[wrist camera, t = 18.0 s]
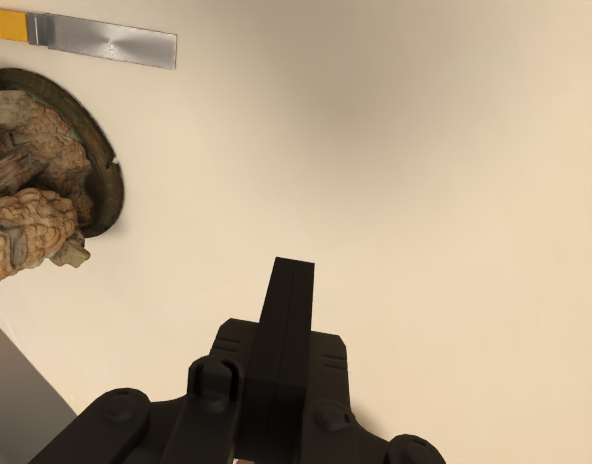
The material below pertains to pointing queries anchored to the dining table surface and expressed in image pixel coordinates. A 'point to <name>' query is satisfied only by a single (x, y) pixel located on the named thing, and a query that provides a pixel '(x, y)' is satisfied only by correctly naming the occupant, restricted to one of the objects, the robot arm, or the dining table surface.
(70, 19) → the yellow handled chisel
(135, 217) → the dining table surface
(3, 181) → the beige stone figure
